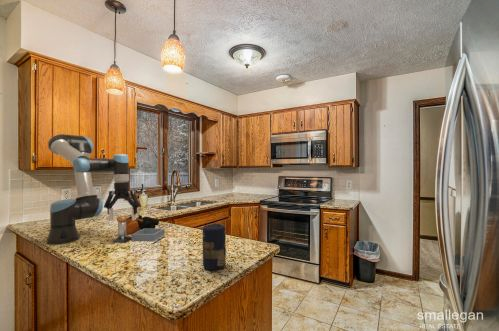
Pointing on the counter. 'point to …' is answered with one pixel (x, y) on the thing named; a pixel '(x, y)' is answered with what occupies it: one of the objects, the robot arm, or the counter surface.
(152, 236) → the bin
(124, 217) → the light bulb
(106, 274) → the counter surface
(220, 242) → the canister
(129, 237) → the collar plate
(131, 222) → the tool
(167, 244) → the counter surface
